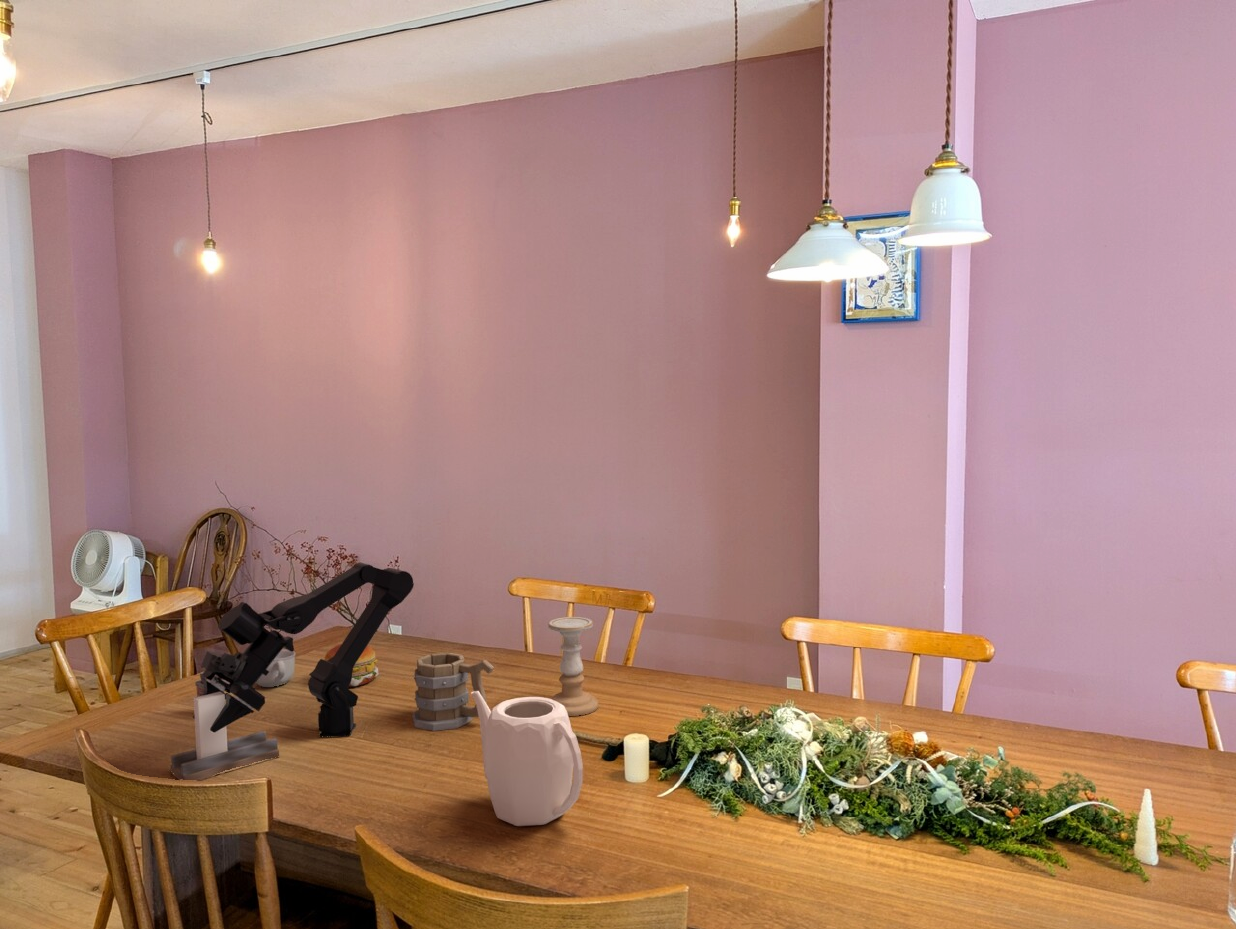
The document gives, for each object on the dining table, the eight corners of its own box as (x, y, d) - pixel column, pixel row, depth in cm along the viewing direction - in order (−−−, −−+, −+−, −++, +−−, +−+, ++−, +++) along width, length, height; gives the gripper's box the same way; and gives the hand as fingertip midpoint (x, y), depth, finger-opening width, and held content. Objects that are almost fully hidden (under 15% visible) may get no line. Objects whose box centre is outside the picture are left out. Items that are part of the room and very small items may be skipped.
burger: (320, 678, 230) (319, 640, 230) (374, 671, 236) (372, 634, 235) (327, 693, 218) (325, 654, 217) (383, 685, 224) (382, 646, 223)
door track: (263, 746, 185) (262, 730, 185) (279, 757, 179) (278, 740, 179) (171, 772, 173) (170, 754, 172) (185, 784, 167) (184, 766, 167)
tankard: (401, 725, 196) (399, 658, 195) (438, 707, 207) (436, 644, 206) (474, 740, 187) (472, 670, 186) (509, 720, 198) (507, 654, 197)
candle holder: (575, 720, 197) (573, 631, 196) (534, 709, 205) (532, 623, 203) (609, 705, 207) (608, 620, 206) (569, 695, 214) (567, 613, 213)
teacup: (250, 681, 229) (248, 650, 228) (294, 675, 233) (293, 645, 233) (252, 697, 216) (251, 665, 216) (299, 690, 221) (298, 659, 220)
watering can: (505, 775, 169) (503, 678, 168) (612, 816, 152) (610, 708, 151) (441, 805, 157) (438, 701, 156) (549, 852, 140) (546, 736, 139)
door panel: (223, 755, 177) (220, 691, 176) (227, 758, 175) (224, 694, 174) (197, 763, 173) (193, 697, 172) (201, 766, 171) (198, 700, 171)
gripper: (210, 627, 182) (154, 692, 175) (245, 644, 168) (187, 716, 162) (250, 656, 188) (198, 721, 181) (288, 675, 174) (233, 746, 168)
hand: (203, 725), depth 173 cm, fingers open, 9 cm apart
